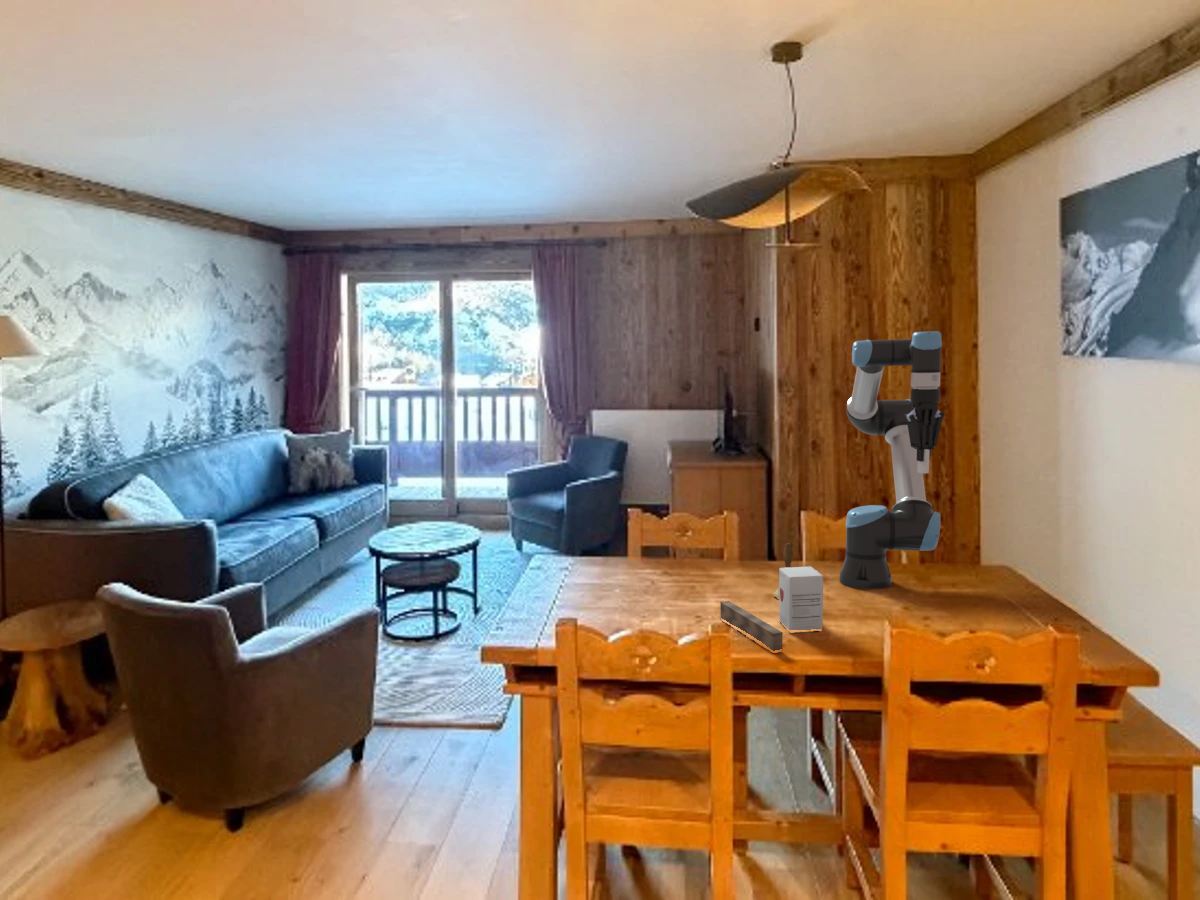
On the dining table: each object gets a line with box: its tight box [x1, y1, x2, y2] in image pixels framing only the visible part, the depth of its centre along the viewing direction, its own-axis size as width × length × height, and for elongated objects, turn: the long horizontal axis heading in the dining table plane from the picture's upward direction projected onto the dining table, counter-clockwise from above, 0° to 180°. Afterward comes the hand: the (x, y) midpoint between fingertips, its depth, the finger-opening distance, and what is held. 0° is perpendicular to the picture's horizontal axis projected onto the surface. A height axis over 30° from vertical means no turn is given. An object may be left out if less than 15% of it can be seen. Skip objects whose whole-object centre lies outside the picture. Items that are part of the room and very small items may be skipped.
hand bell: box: [773, 542, 794, 597], centre depth 231 cm, size 8×8×16 cm
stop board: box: [720, 600, 783, 651], centre depth 202 cm, size 26×2×5 cm, turn 20°
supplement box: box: [778, 565, 824, 630], centre depth 206 cm, size 9×9×15 cm
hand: (923, 472), depth 223 cm, fingers closed
